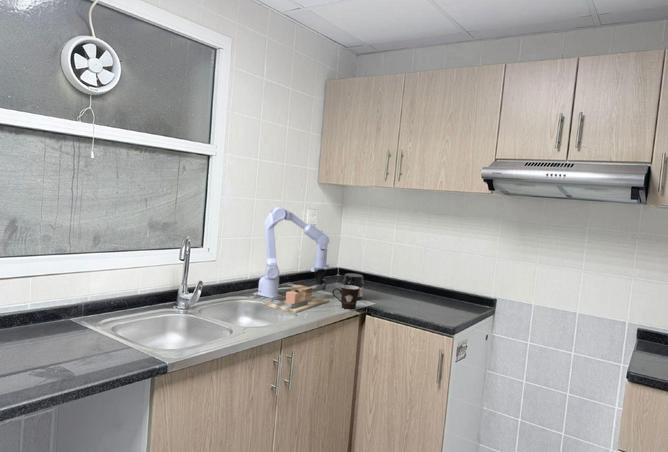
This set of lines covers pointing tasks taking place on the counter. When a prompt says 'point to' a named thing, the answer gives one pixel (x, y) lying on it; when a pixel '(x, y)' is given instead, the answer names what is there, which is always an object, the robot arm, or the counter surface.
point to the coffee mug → (348, 296)
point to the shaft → (316, 287)
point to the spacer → (292, 297)
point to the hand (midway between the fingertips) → (318, 284)
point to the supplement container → (355, 282)
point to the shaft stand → (303, 303)
